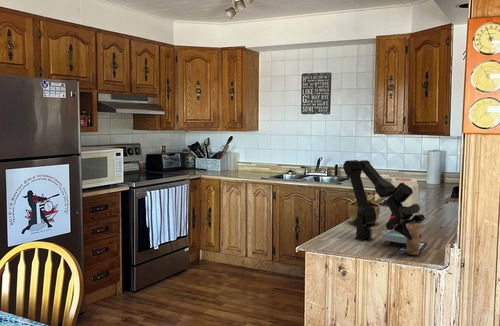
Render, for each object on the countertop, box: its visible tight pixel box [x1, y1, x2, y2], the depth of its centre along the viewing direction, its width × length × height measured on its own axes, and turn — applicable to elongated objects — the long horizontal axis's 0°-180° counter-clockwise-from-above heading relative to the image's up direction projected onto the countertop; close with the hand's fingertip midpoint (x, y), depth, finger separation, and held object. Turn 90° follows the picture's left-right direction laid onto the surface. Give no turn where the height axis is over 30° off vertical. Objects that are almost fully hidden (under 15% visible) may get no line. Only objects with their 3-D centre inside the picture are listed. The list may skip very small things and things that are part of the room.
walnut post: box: [405, 222, 421, 256], centre depth 205 cm, size 5×5×13 cm
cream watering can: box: [374, 177, 420, 209], centre depth 316 cm, size 19×30×18 cm, turn 56°
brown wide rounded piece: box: [347, 194, 381, 222], centre depth 264 cm, size 22×17×15 cm
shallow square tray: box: [381, 229, 422, 248], centre depth 222 cm, size 14×12×5 cm
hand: (415, 238), depth 204 cm, fingers closed on walnut post, 5 cm apart
